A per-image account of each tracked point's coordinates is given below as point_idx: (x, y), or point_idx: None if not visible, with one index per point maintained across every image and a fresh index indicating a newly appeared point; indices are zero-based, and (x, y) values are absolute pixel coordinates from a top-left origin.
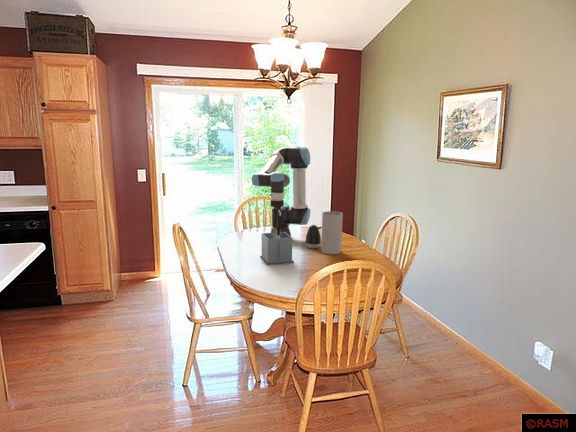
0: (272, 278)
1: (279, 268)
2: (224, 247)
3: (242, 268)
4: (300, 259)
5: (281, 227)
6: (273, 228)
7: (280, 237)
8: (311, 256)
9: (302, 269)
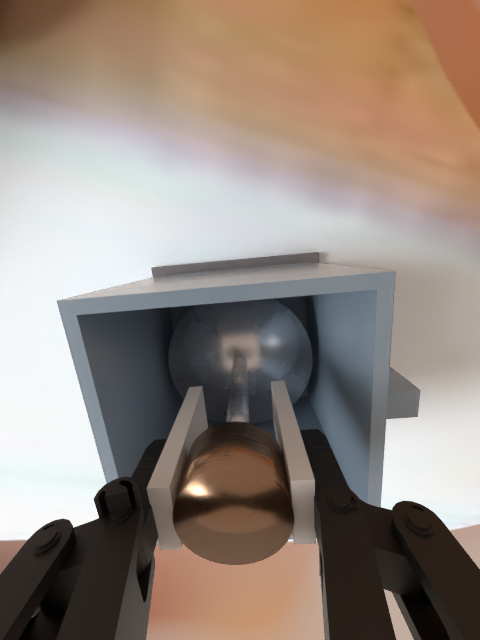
0: None
1: None
2: (2, 529)
3: None
4: (256, 190)
5: (457, 545)
6: (236, 563)
7: (120, 339)
8: (201, 84)
9: (448, 231)
